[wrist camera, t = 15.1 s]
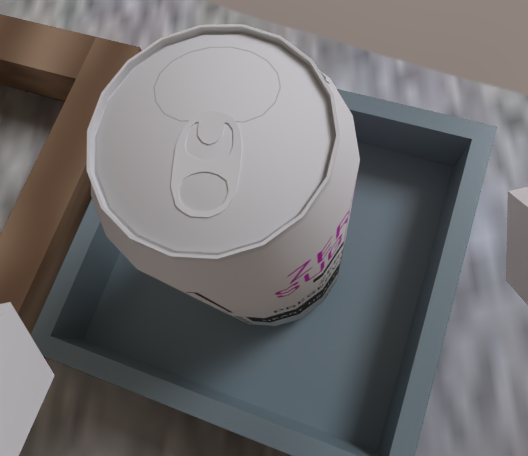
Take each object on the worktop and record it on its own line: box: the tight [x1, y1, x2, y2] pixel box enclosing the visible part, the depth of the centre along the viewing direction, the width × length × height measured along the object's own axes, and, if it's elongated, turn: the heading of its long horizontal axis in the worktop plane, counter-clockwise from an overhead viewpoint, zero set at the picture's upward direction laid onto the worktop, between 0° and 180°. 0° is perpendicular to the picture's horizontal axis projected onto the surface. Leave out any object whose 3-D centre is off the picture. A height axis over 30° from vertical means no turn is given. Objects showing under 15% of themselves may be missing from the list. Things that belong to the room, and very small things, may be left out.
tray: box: [31, 89, 497, 456], centre depth 26 cm, size 19×18×4 cm
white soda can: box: [87, 24, 360, 326], centre depth 20 cm, size 8×8×15 cm
